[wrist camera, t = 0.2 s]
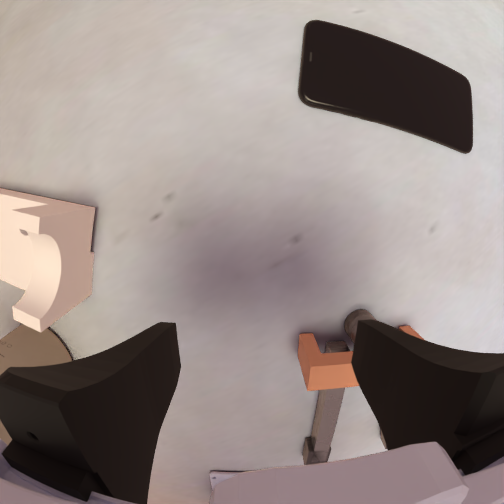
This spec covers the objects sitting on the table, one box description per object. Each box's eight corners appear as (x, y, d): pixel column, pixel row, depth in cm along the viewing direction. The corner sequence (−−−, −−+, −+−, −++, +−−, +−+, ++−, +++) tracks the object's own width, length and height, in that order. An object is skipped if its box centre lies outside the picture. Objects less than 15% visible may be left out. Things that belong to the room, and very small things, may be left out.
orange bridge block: (299, 333, 21) (310, 366, 17) (409, 325, 21) (435, 350, 17) (297, 355, 22) (307, 390, 17) (404, 346, 22) (428, 373, 17)
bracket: (101, 206, 20) (39, 217, 12) (93, 293, 21) (40, 332, 14) (-1, 186, 19) (-57, 191, 12) (-4, 257, 20) (-56, 277, 13)
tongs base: (323, 311, 21) (332, 326, 19) (374, 308, 21) (387, 322, 19) (302, 454, 25) (305, 472, 22) (340, 449, 25) (345, 466, 22)
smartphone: (465, 80, 18) (304, 21, 17) (471, 78, 17) (306, 15, 16) (467, 157, 19) (295, 106, 18) (473, 157, 18) (297, 102, 18)
